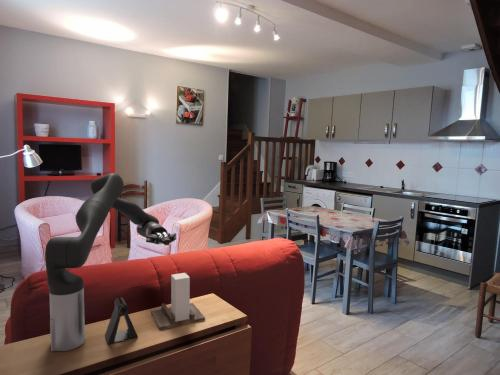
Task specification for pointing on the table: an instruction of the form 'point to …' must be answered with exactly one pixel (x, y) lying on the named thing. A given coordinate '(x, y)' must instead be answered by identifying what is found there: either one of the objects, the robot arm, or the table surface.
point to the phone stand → (111, 331)
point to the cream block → (180, 296)
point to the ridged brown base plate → (167, 320)
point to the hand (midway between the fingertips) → (167, 242)
